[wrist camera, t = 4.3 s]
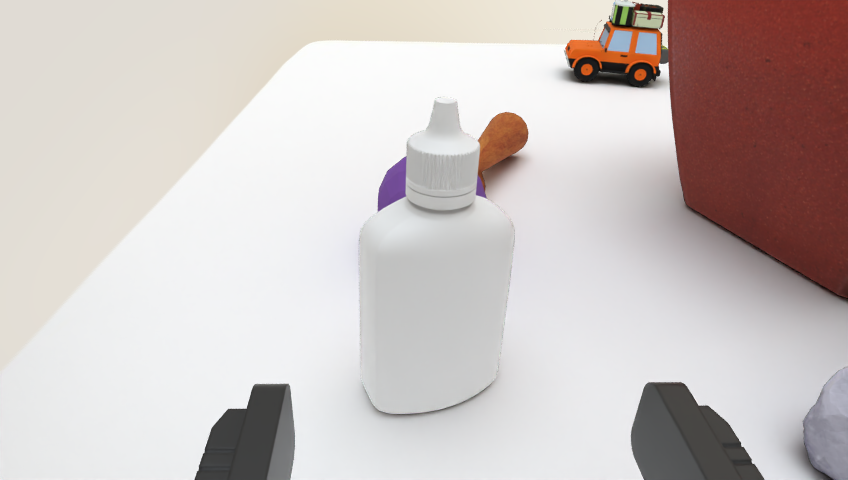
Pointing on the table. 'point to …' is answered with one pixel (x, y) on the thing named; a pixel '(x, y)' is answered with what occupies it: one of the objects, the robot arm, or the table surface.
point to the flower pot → (766, 124)
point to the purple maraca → (495, 146)
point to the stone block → (829, 428)
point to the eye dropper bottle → (434, 278)
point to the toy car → (623, 45)
